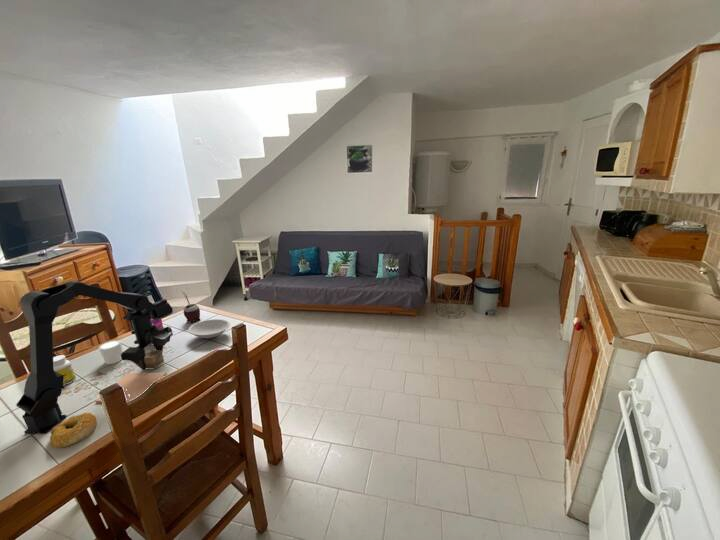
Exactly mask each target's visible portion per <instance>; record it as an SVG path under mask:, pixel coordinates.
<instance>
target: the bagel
mask: <svg viewBox="0 0 720 540" xmlns="http://www.w3.org/2000/svg"><path fill="white" fill-rule="evenodd" d="M97 420H98V419H97V416H96V414H92V413H91V412H83V413H81V414H78V415H73V416H70V417H68V418H66V419H65V420H64V421H61V422H59V423H58V424H57V425H56V426H55V427H53V428H52V429H51V430H50V431H51V432H50V434H51V435H50V437H49V442H50V444H51V446H52V447H53V448H65V447H68V446H71V445H73V444H75V443H77V442H79V441H82V440H83V439H86V438H87V437H89V436H90V435H91V434H92V433H93V432H94V430H95V429H96V426H97Z"/></svg>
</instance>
